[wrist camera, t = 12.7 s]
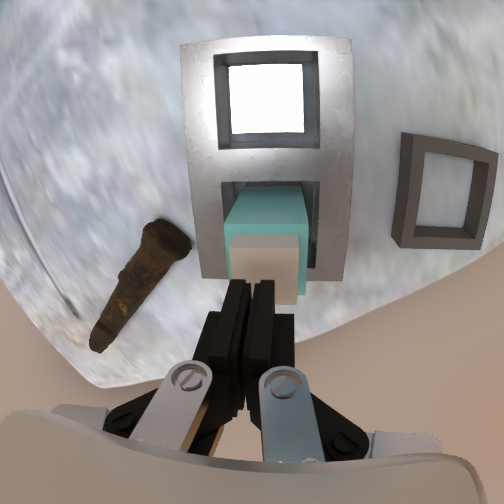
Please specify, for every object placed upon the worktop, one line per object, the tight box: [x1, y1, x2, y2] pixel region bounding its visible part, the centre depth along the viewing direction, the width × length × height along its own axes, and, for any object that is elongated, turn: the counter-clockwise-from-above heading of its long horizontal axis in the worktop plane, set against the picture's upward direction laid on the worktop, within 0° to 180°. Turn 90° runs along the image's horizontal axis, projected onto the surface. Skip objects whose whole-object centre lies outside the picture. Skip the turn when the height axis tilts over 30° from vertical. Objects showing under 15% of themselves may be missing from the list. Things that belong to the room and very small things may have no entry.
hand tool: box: [89, 219, 192, 354], centre depth 26 cm, size 19×4×5 cm, turn 138°
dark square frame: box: [391, 132, 499, 250], centre depth 18 cm, size 8×8×2 cm
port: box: [180, 35, 354, 281], centre depth 18 cm, size 10×16×5 cm, turn 3°
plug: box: [224, 181, 309, 305], centre depth 17 cm, size 4×4×10 cm
